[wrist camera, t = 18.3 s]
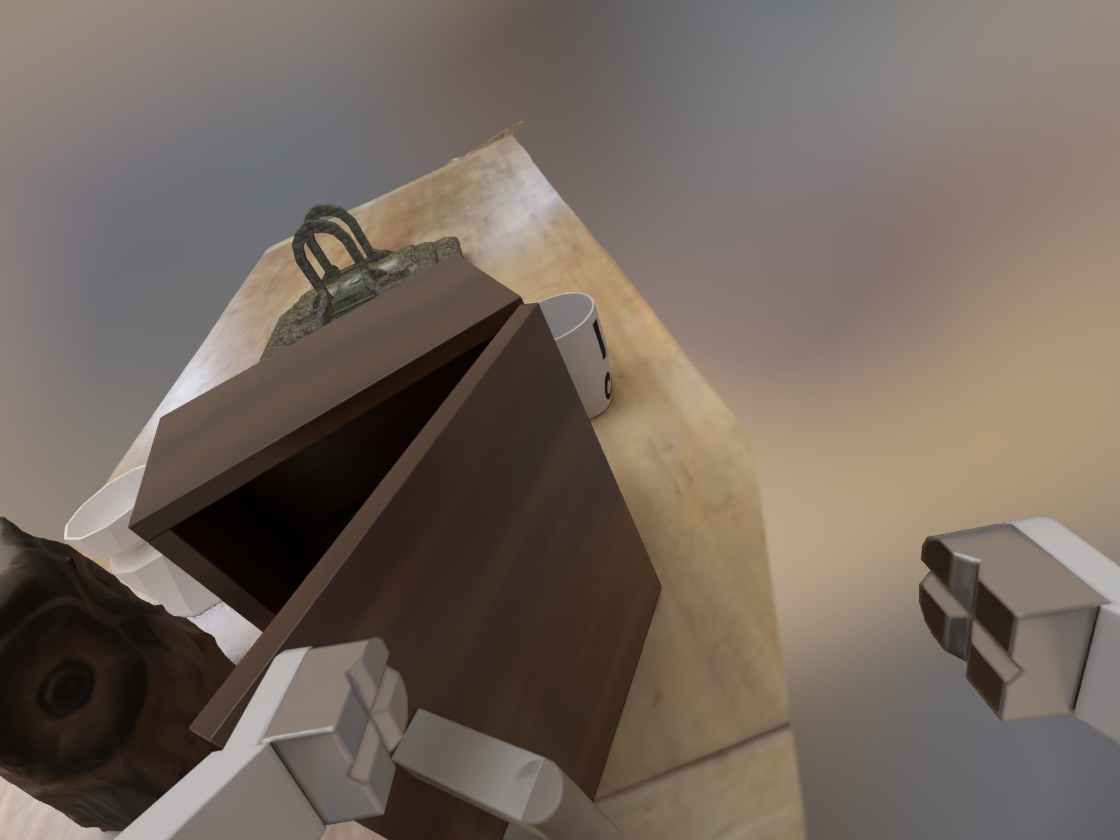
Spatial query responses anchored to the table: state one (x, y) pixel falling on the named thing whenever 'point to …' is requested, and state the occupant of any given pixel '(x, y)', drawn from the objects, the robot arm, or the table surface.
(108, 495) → the vase
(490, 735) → the door
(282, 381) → the cupboard
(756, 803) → the table surface
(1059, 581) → the robot arm
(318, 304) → the archway
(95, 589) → the owl
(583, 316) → the cup
